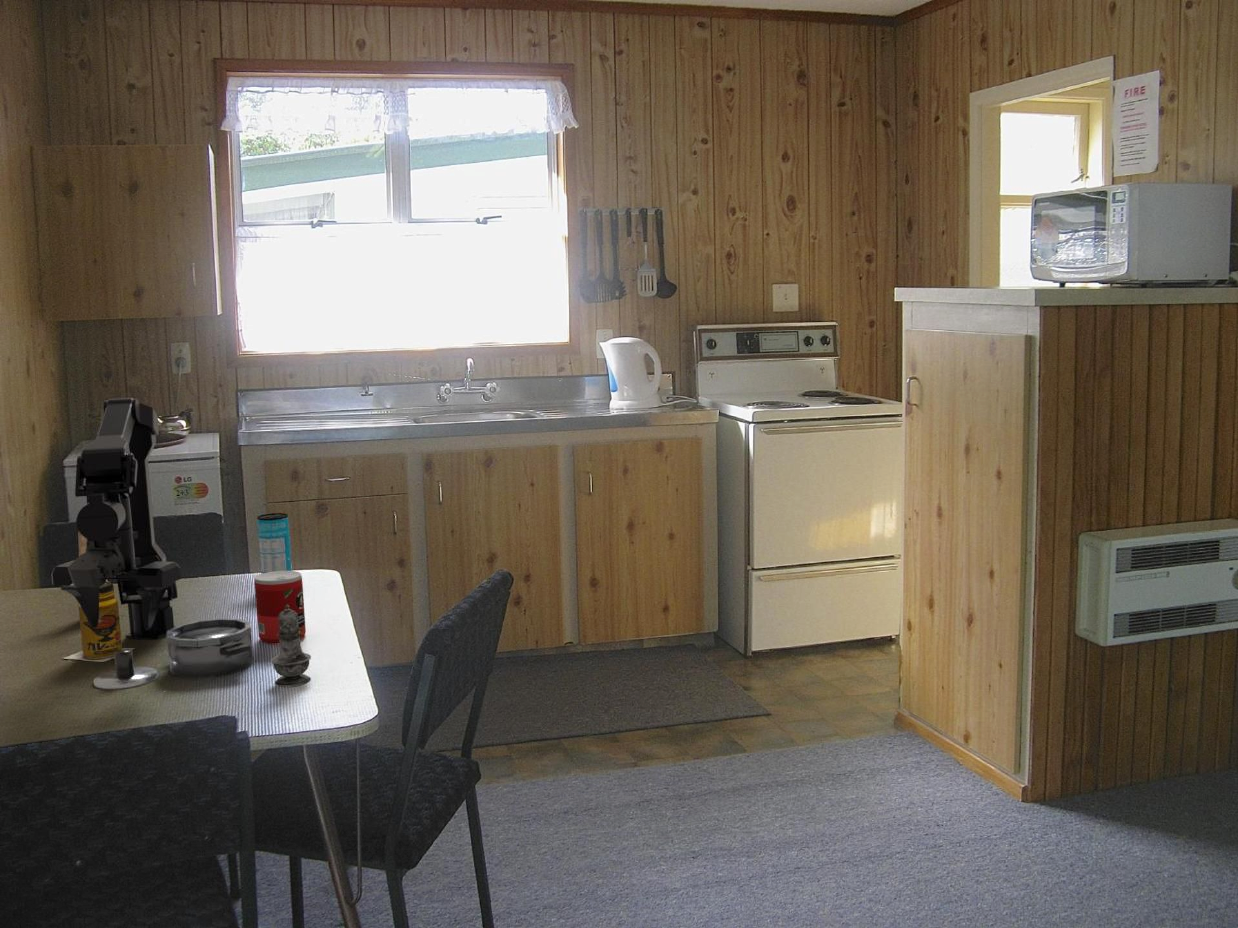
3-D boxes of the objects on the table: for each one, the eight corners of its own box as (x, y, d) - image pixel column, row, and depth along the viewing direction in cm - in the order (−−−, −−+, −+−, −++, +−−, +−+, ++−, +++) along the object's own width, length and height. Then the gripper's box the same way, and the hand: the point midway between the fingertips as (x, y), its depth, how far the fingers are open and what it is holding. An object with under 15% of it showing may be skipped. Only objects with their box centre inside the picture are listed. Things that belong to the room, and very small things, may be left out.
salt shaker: (276, 676, 189) (270, 600, 187) (315, 674, 189) (310, 598, 188) (269, 688, 183) (263, 610, 181) (309, 686, 184) (303, 608, 182)
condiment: (105, 662, 200) (98, 590, 198) (62, 659, 202) (55, 588, 201) (135, 649, 207) (128, 580, 205) (93, 646, 209) (87, 578, 207)
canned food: (294, 645, 206) (289, 581, 204) (250, 644, 207) (245, 580, 206) (314, 632, 213) (309, 570, 212) (271, 631, 215) (267, 570, 213)
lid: (81, 689, 187) (77, 659, 186) (118, 670, 196) (115, 641, 195) (134, 691, 185) (131, 661, 184) (169, 672, 194) (166, 643, 193)
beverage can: (299, 587, 247) (294, 514, 245) (277, 594, 242) (271, 519, 240) (278, 584, 250) (273, 512, 248) (256, 591, 245) (250, 517, 243)
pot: (147, 665, 197) (144, 629, 196) (218, 646, 206) (216, 612, 205) (204, 686, 185) (201, 647, 184) (277, 665, 194) (274, 628, 194)
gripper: (22, 538, 181) (33, 641, 183) (135, 540, 177) (145, 645, 179) (70, 524, 192) (80, 621, 194) (178, 525, 188) (187, 624, 190)
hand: (121, 628), depth 189 cm, fingers open, 9 cm apart
